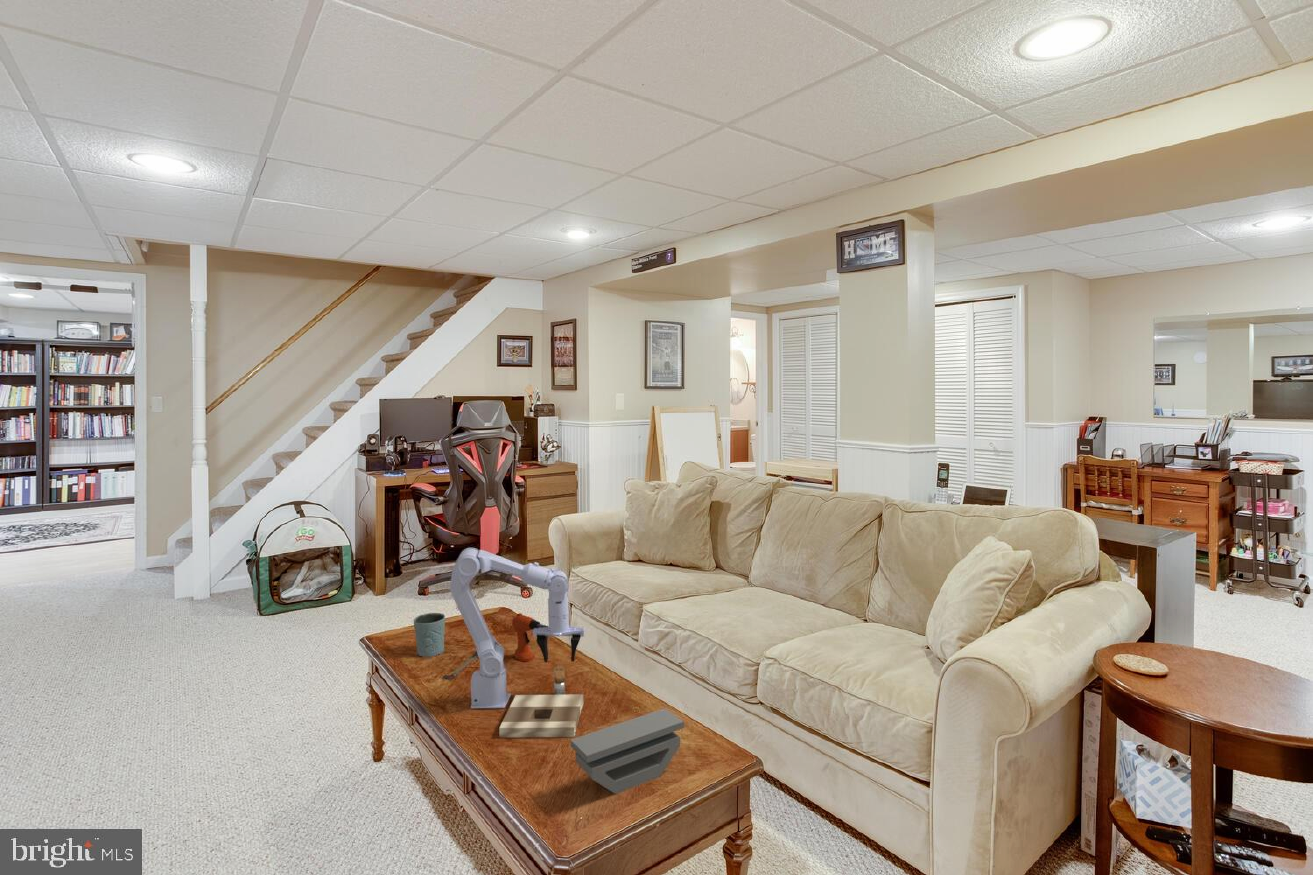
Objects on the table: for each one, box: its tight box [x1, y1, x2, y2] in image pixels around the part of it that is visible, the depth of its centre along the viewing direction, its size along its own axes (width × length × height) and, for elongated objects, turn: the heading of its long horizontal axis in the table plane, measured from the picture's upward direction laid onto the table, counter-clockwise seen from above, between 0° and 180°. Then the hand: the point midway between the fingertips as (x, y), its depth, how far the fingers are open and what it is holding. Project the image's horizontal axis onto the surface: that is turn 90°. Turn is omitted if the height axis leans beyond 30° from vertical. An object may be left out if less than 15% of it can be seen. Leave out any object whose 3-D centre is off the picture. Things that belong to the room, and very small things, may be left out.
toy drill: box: [511, 612, 549, 662], centre depth 213 cm, size 5×19×15 cm, turn 46°
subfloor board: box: [498, 693, 585, 738], centre depth 176 cm, size 19×18×2 cm
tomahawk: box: [442, 650, 479, 681], centre depth 211 cm, size 21×7×1 cm, turn 166°
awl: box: [553, 665, 566, 695], centre depth 189 cm, size 3×3×8 cm
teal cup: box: [413, 612, 446, 658], centre depth 222 cm, size 10×10×12 cm
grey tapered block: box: [570, 708, 685, 795], centre depth 149 cm, size 25×8×11 cm, turn 123°
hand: (559, 660), depth 189 cm, fingers open, 7 cm apart
